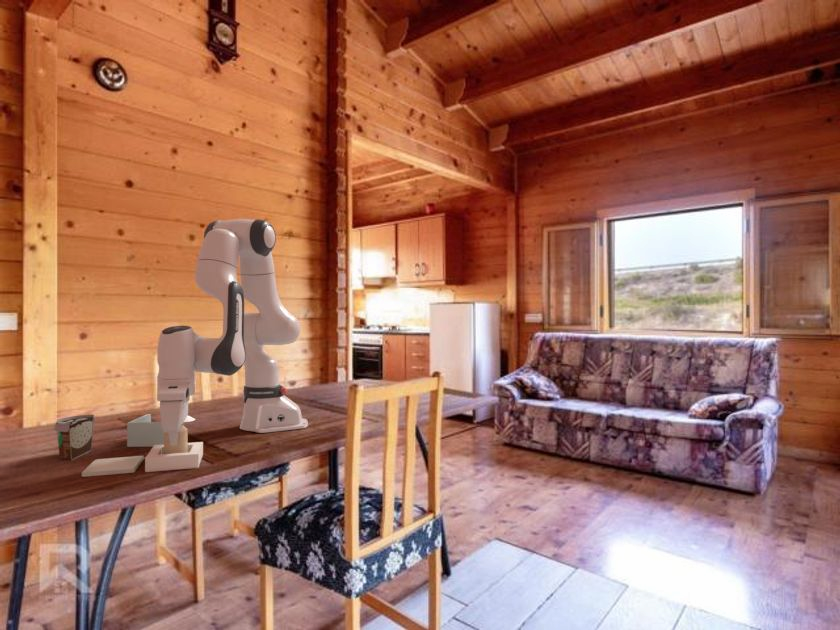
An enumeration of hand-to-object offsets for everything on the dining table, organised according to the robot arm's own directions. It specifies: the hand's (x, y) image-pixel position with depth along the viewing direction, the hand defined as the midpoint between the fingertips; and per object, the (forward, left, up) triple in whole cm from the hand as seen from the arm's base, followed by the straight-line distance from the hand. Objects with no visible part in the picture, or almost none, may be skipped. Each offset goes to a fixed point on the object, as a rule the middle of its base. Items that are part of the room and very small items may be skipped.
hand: (175, 441), depth 129 cm
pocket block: (0, 0, -6) cm, 6 cm away
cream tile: (+14, 0, -6) cm, 15 cm away
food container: (+28, -15, -6) cm, 32 cm away
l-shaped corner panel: (+8, -25, -6) cm, 27 cm away
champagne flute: (+4, -53, -6) cm, 53 cm away
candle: (0, 0, -6) cm, 6 cm away
